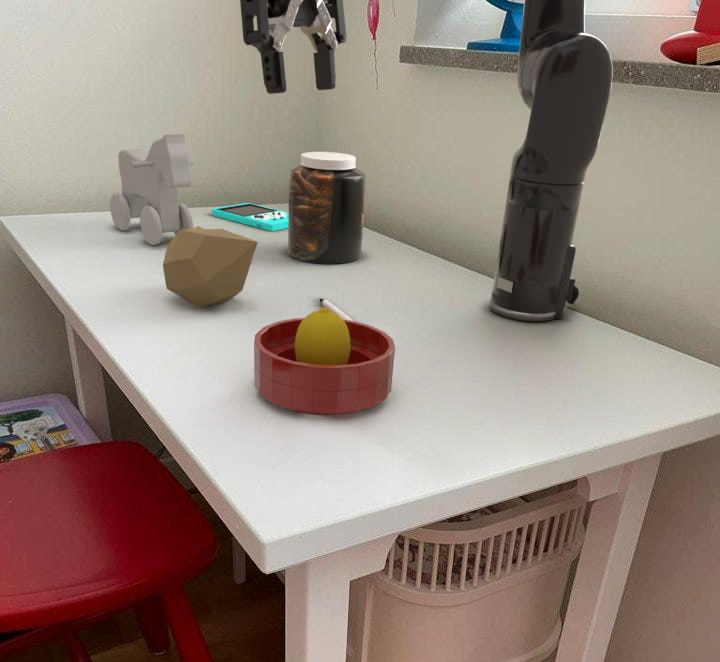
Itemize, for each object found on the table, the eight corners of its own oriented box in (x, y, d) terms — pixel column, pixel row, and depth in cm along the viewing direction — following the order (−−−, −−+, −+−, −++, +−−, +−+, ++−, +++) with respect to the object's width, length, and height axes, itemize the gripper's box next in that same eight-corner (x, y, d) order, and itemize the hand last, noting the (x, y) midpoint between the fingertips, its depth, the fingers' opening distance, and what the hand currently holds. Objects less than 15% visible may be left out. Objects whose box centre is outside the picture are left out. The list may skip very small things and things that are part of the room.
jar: (342, 268, 119) (347, 165, 111) (275, 256, 122) (276, 155, 115) (371, 252, 128) (378, 156, 121) (308, 241, 132) (311, 147, 124)
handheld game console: (270, 231, 136) (270, 223, 136) (209, 215, 145) (209, 207, 144) (308, 223, 143) (308, 216, 143) (248, 208, 152) (248, 201, 151)
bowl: (384, 367, 85) (388, 320, 83) (395, 423, 74) (401, 370, 71) (259, 363, 84) (258, 314, 82) (250, 419, 72) (249, 364, 70)
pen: (380, 352, 90) (381, 343, 89) (316, 302, 104) (316, 294, 104) (387, 351, 90) (387, 342, 89) (322, 301, 105) (322, 293, 104)
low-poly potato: (236, 324, 95) (289, 265, 100) (184, 250, 89) (244, 191, 94) (171, 324, 106) (222, 271, 110) (120, 258, 99) (176, 205, 104)
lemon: (323, 369, 82) (326, 295, 78) (359, 386, 79) (364, 310, 75) (282, 381, 79) (283, 304, 74) (318, 399, 75) (321, 320, 71)
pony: (214, 247, 125) (210, 134, 116) (156, 255, 119) (147, 137, 110) (156, 221, 138) (148, 118, 129) (100, 227, 132) (89, 119, 123)
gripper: (267, -111, 69) (287, 93, 76) (358, -92, 79) (368, 86, 86) (207, -95, 73) (231, 97, 80) (301, -79, 83) (315, 90, 90)
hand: (302, 91), depth 83 cm, fingers open, 8 cm apart
